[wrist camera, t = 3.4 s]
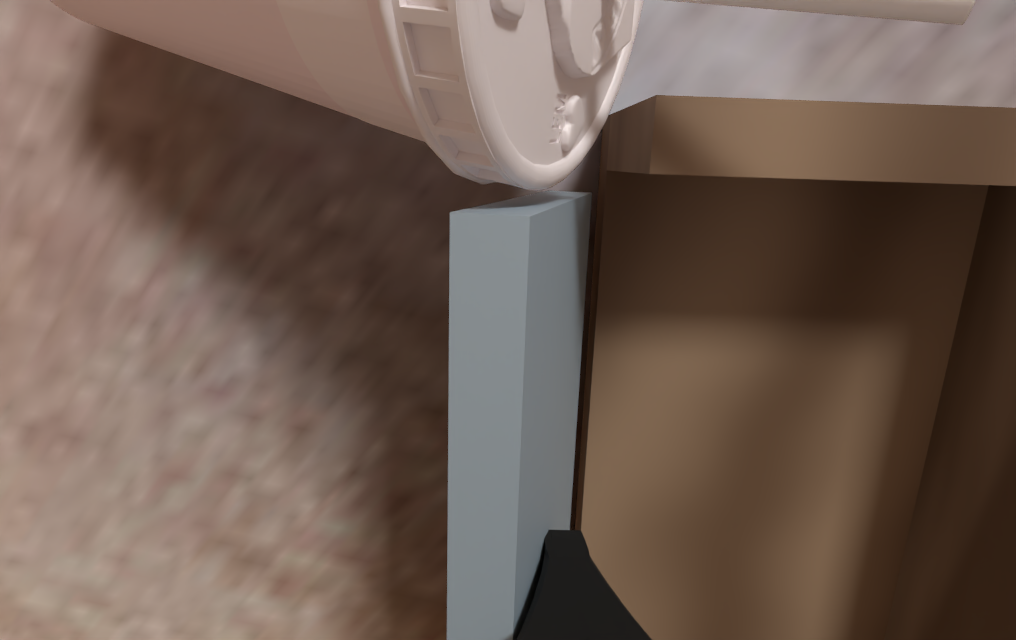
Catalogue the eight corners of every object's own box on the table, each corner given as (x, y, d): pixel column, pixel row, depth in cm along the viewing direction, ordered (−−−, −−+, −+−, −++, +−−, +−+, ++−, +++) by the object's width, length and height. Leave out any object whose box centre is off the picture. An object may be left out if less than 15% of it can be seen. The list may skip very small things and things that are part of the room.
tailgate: (592, 192, 14) (529, 216, 7) (558, 700, 17) (496, 1026, 11) (548, 190, 14) (449, 211, 7) (524, 693, 18) (444, 1007, 11)
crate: (1017, 132, 14) (1276, 117, 10) (877, 721, 19) (1006, 912, 14) (603, 117, 14) (656, 94, 9) (562, 716, 19) (583, 909, 14)
